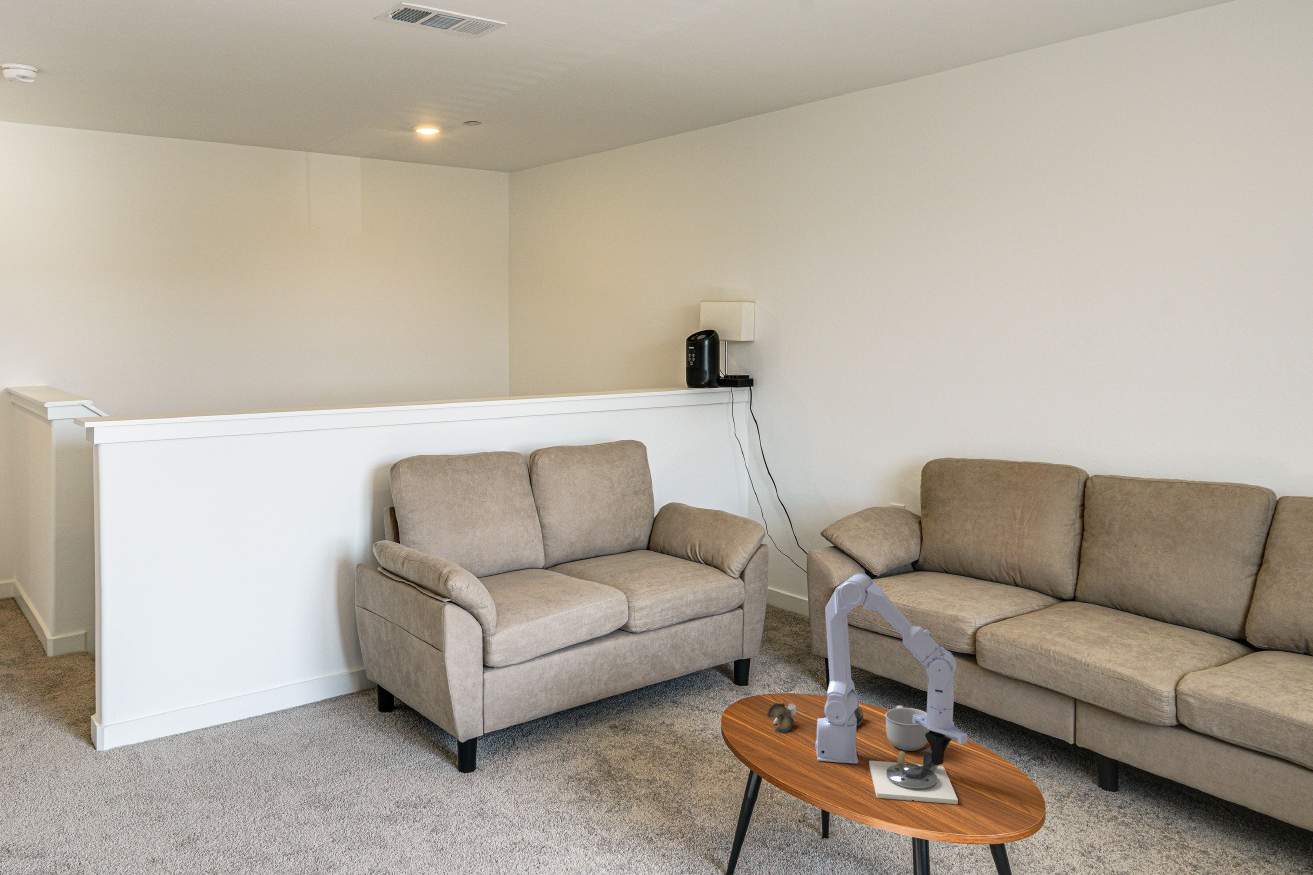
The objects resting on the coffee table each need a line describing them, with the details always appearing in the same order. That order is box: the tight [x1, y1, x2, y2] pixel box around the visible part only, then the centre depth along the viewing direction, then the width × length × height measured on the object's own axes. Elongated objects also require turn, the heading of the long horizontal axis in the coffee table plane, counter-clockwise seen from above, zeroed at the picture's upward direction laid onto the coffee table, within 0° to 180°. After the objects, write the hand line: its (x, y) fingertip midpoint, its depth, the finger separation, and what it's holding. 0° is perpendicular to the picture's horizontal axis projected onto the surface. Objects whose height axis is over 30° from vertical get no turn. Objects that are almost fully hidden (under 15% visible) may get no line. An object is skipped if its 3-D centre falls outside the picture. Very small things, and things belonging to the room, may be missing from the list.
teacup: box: [884, 705, 930, 752], centre depth 229 cm, size 14×11×8 cm
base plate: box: [868, 750, 959, 805], centre depth 206 cm, size 17×17×4 cm
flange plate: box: [886, 746, 939, 789], centre depth 208 cm, size 15×11×4 cm
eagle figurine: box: [766, 701, 798, 734], centre depth 238 cm, size 8×7×9 cm
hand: (937, 763), depth 210 cm, fingers closed
